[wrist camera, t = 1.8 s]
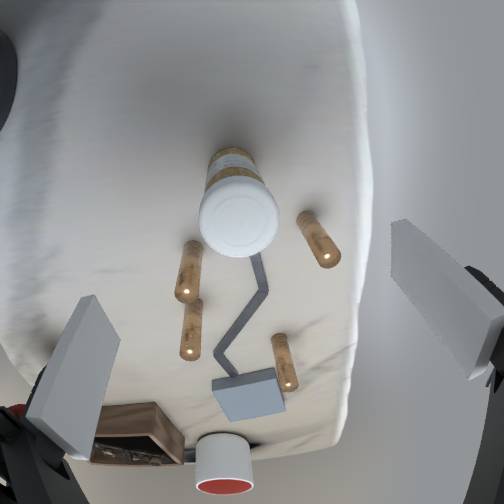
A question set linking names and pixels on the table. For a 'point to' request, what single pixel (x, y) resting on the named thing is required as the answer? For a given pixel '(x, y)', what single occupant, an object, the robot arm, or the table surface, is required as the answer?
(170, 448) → the camera corral
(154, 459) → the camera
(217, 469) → the cup
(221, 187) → the sprinkles bottle
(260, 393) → the pad
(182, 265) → the wire course
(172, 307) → the table surface
